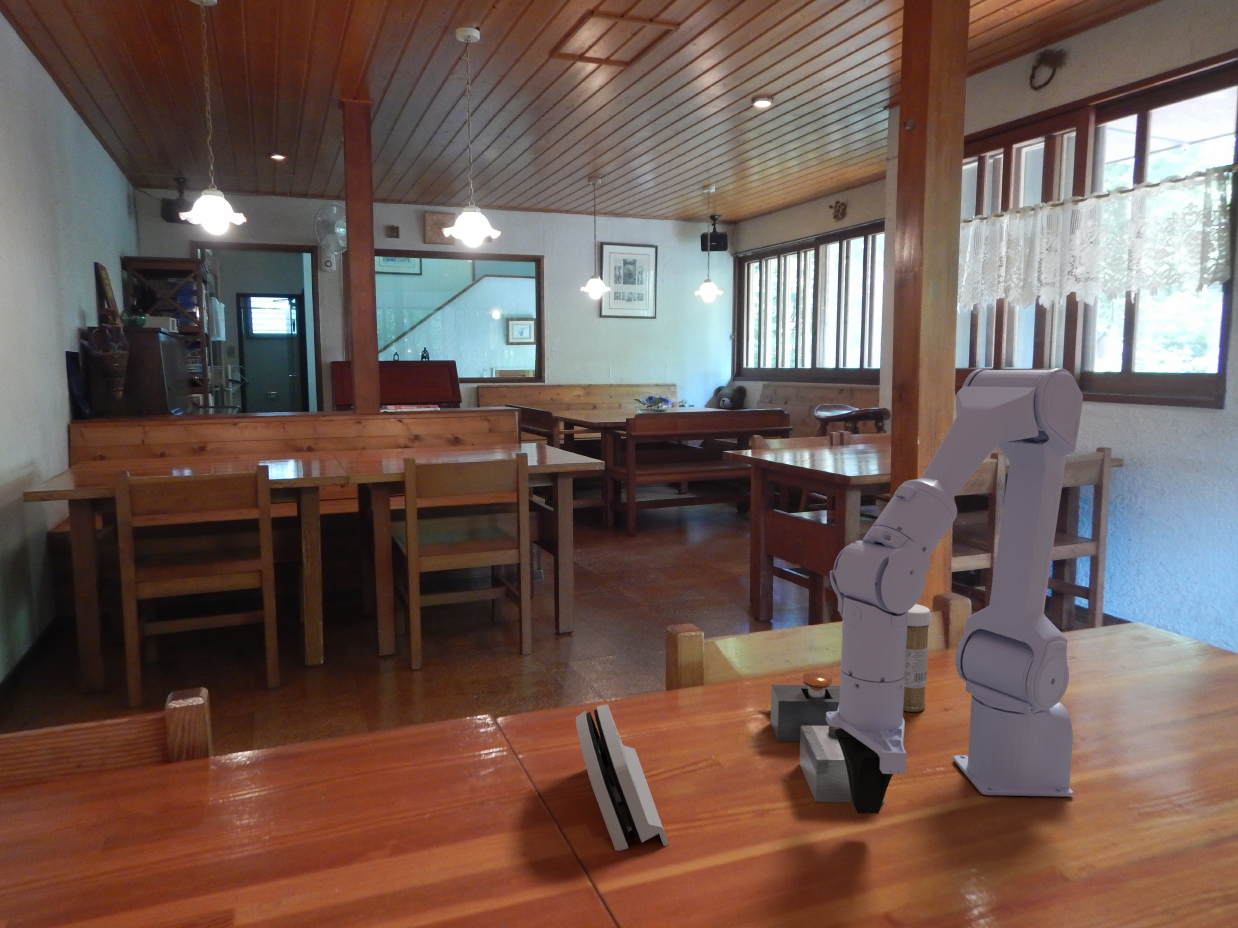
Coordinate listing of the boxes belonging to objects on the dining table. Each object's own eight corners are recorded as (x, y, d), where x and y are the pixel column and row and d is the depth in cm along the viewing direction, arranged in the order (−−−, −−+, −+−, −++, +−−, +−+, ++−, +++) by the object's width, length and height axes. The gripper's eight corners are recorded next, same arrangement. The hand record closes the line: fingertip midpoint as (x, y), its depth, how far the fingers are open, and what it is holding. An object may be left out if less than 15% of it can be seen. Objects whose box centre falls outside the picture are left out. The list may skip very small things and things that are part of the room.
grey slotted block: (670, 847, 73) (634, 751, 72) (621, 867, 73) (585, 771, 72) (639, 761, 90) (610, 681, 88) (600, 777, 89) (569, 697, 88)
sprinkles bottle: (912, 697, 108) (917, 601, 107) (932, 711, 104) (937, 610, 102) (882, 700, 107) (886, 603, 106) (901, 714, 103) (905, 613, 101)
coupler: (873, 760, 90) (875, 718, 90) (784, 759, 91) (785, 716, 90) (839, 707, 105) (841, 670, 104) (763, 705, 105) (764, 669, 105)
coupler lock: (884, 802, 81) (886, 754, 81) (815, 801, 82) (817, 753, 81) (862, 764, 89) (864, 721, 89) (799, 763, 90) (800, 720, 89)
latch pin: (833, 718, 95) (834, 683, 95) (804, 718, 95) (805, 682, 95) (826, 707, 99) (827, 672, 98) (799, 706, 99) (800, 672, 98)
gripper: (812, 644, 82) (807, 771, 83) (849, 701, 67) (843, 853, 69) (881, 645, 81) (875, 772, 83) (934, 703, 67) (926, 855, 68)
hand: (866, 809), depth 76 cm, fingers closed
